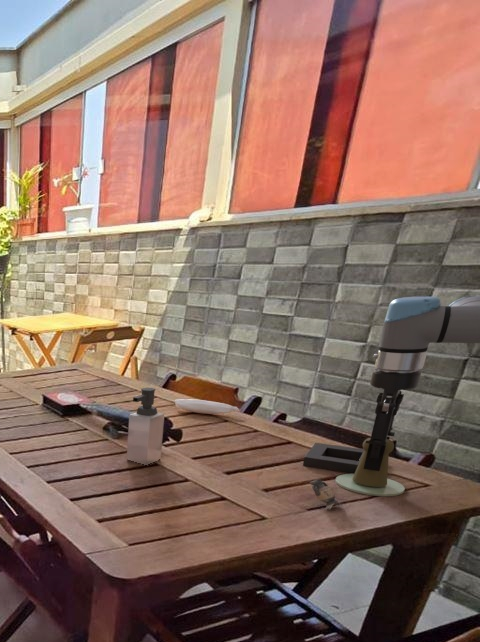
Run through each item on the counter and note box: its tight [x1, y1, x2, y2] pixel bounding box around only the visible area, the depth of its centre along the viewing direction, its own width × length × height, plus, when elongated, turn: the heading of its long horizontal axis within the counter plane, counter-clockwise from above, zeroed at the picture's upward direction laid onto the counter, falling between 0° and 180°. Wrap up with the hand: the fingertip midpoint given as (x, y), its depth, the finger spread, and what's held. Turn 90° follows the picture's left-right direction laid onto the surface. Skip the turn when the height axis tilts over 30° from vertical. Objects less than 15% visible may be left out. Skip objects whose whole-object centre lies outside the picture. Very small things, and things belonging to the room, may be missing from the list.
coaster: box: [334, 473, 406, 497], centre depth 118 cm, size 12×12×1 cm
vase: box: [309, 478, 344, 512], centre depth 112 cm, size 5×5×6 cm
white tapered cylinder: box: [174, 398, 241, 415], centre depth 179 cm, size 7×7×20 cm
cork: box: [352, 437, 395, 487], centre depth 116 cm, size 6×6×11 cm
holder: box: [302, 442, 364, 474], centre depth 131 cm, size 13×13×2 cm
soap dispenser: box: [126, 387, 165, 466], centre depth 143 cm, size 6×9×22 cm
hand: (373, 465), depth 117 cm, fingers closed on cork, 5 cm apart
